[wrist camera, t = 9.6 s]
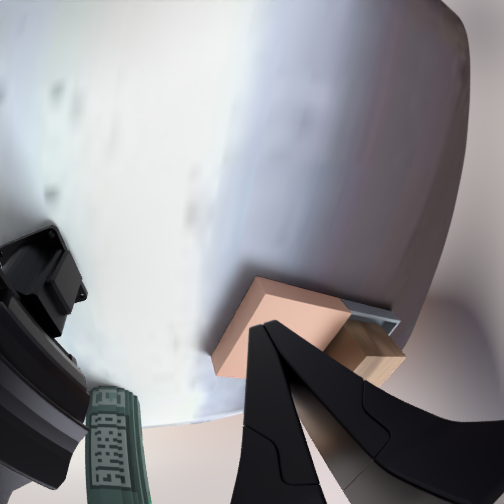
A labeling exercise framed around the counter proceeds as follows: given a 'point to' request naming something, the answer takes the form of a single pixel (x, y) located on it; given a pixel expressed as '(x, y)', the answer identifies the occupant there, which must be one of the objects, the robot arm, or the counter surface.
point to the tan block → (365, 351)
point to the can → (115, 449)
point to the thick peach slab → (285, 311)
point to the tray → (372, 315)
